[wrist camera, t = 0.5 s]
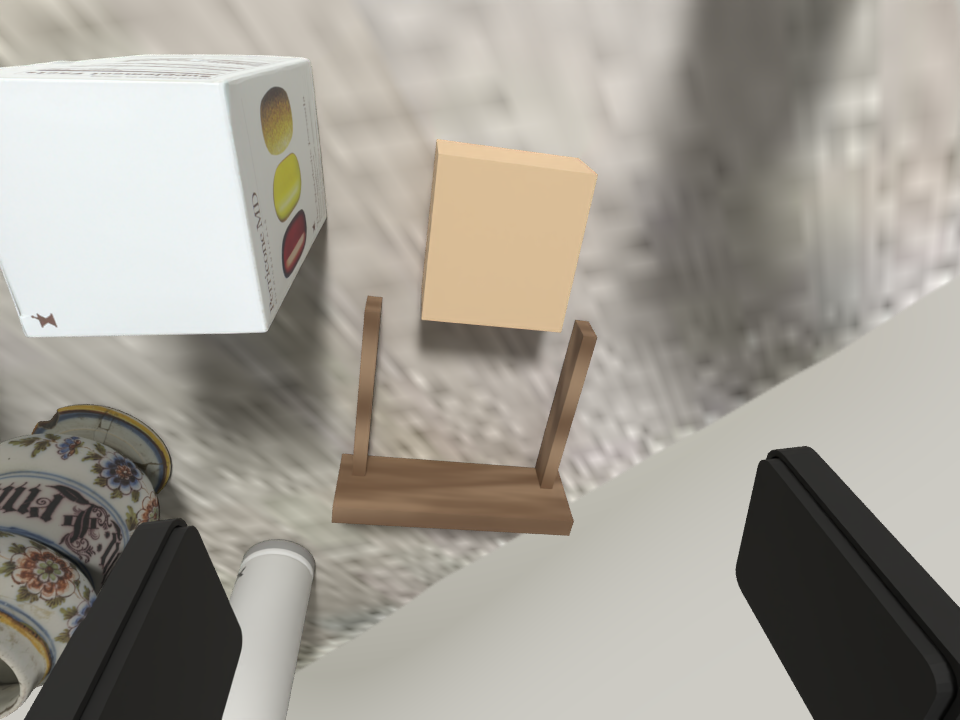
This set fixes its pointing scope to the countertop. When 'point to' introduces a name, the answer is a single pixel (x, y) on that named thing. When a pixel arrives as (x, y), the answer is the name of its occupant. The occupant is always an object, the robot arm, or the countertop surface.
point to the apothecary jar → (66, 529)
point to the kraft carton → (503, 236)
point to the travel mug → (269, 628)
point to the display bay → (460, 465)
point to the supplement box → (157, 192)
